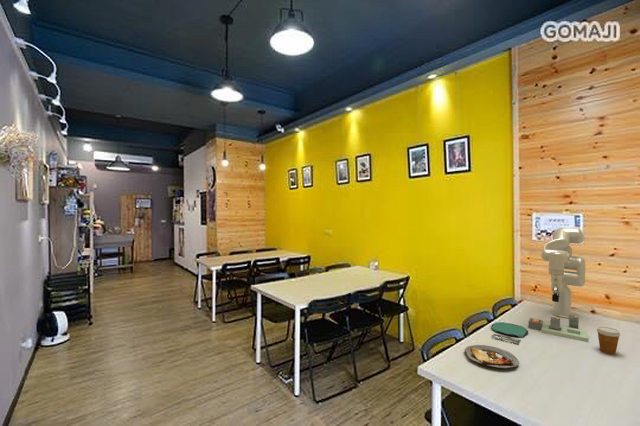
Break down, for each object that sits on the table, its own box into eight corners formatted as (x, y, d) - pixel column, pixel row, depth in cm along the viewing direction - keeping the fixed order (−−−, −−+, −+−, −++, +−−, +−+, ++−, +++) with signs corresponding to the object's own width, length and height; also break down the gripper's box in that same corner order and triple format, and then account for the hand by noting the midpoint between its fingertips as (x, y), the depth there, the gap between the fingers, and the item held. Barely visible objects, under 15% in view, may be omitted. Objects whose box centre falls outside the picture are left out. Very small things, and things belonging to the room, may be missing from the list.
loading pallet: (527, 330, 201) (527, 322, 200) (530, 323, 212) (530, 316, 211) (588, 342, 183) (588, 334, 182) (587, 334, 194) (587, 326, 194)
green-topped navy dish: (530, 330, 201) (530, 326, 201) (522, 347, 178) (522, 343, 178) (495, 323, 214) (495, 319, 214) (483, 338, 191) (483, 334, 191)
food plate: (526, 374, 150) (526, 366, 150) (473, 369, 154) (472, 362, 154) (506, 351, 174) (506, 344, 174) (461, 347, 179) (460, 341, 179)
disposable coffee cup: (610, 348, 176) (610, 326, 176) (624, 356, 167) (625, 333, 166) (591, 347, 177) (592, 325, 177) (605, 355, 168) (605, 332, 167)
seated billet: (550, 331, 197) (550, 318, 197) (550, 329, 201) (550, 316, 201) (559, 333, 194) (559, 320, 194) (559, 331, 198) (560, 318, 198)
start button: (531, 324, 204) (532, 320, 203) (532, 323, 206) (532, 318, 206) (538, 326, 201) (538, 321, 201) (539, 324, 204) (539, 319, 204)
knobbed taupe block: (568, 329, 202) (569, 316, 202) (568, 327, 206) (569, 314, 205) (578, 331, 199) (578, 318, 199) (578, 329, 203) (578, 316, 203)
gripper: (563, 275, 187) (563, 304, 188) (564, 270, 201) (563, 297, 202) (547, 273, 192) (547, 302, 193) (549, 268, 206) (548, 295, 206)
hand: (555, 299), depth 197 cm, fingers open, 9 cm apart
